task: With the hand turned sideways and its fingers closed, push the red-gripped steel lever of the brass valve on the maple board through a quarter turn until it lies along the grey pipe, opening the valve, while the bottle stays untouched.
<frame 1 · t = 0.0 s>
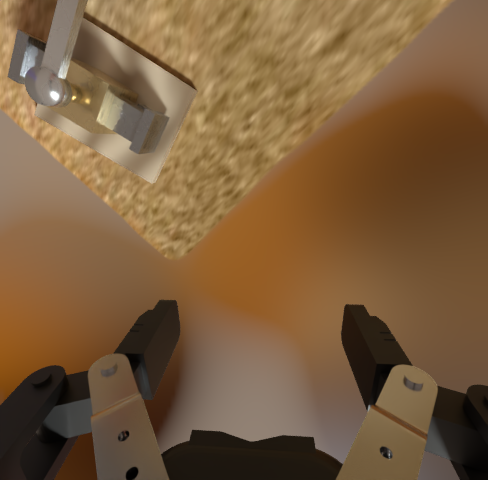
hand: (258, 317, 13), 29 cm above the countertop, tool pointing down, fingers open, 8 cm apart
valve board: (117, 103, 37), on the countertop
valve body: (88, 97, 31), on the valve board, point 6 cm above the countertop
valve lever: (22, 13, 20), point 17 cm above the countertop, hinge at 0.0°
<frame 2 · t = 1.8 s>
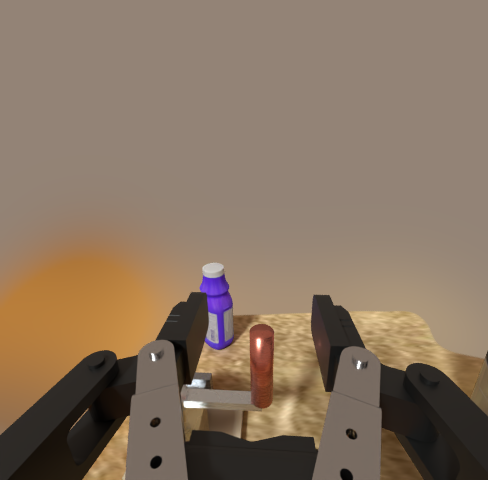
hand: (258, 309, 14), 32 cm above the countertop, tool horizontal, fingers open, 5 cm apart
valve board: (185, 467, 35), on the countertop
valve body: (179, 433, 33), on the valve board, point 6 cm above the countertop
bottle: (218, 341, 58), on the countertop
valve lever: (213, 370, 29), point 17 cm above the countertop, hinge at 0.0°
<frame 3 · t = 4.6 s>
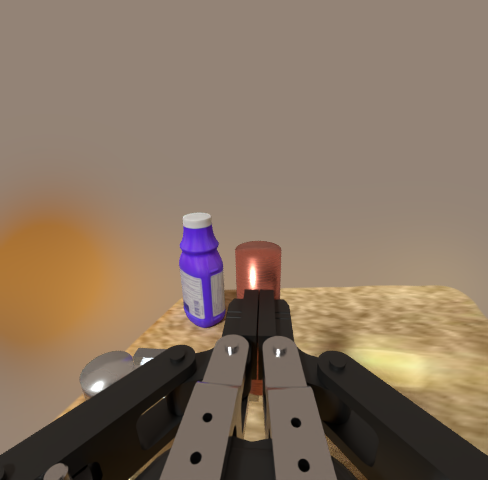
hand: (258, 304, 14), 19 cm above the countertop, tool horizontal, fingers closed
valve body: (125, 440, 20), on the valve board, point 6 cm above the countertop
bottle: (205, 318, 45), on the countertop
valve lever: (172, 328, 16), point 17 cm above the countertop, hinge at 1.0°, touching gripper
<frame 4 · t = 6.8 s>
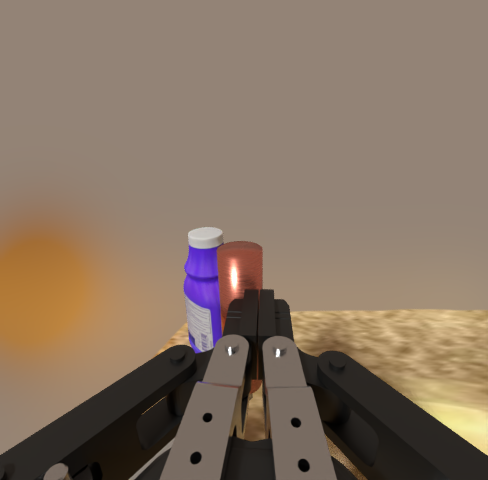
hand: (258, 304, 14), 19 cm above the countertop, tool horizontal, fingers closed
bottle: (214, 350, 38), on the countertop
valve lever: (161, 382, 13), point 17 cm above the countertop, hinge at 49.2°, touching gripper
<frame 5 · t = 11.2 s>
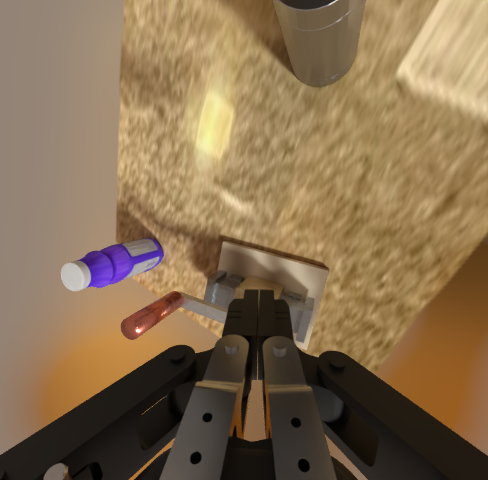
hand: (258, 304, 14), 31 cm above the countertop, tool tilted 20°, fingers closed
valve board: (265, 291, 47), on the countertop
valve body: (256, 305, 41), on the valve board, point 6 cm above the countertop
bottle: (151, 253, 53), on the countertop
valve lever: (196, 324, 32), point 17 cm above the countertop, hinge at 88.9°
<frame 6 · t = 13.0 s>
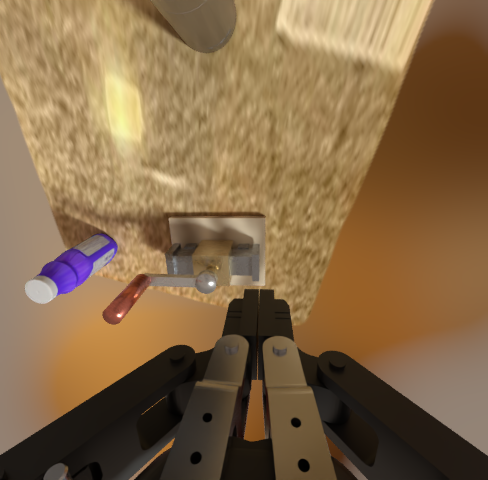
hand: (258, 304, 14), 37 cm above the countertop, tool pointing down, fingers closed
valve board: (219, 250, 54), on the countertop
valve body: (213, 264, 48), on the valve board, point 6 cm above the countertop
bottle: (104, 246, 55), on the countertop
valve lever: (166, 295, 38), point 17 cm above the countertop, hinge at 88.9°
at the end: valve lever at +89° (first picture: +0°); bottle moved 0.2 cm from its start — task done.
